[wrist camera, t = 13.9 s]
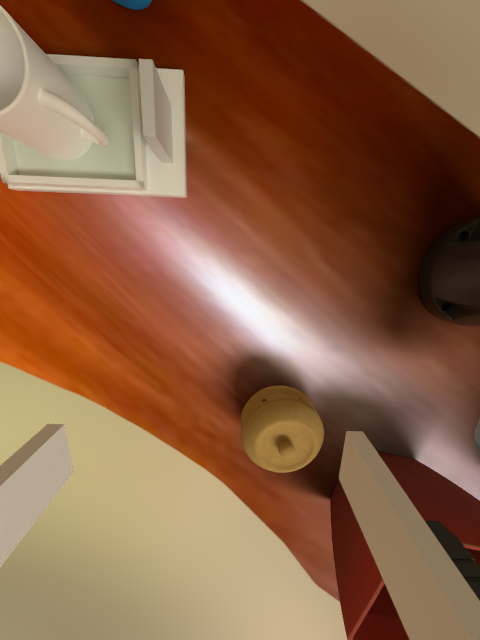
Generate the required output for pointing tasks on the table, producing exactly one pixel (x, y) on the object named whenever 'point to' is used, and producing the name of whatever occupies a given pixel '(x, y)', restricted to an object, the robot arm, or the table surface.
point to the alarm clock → (134, 3)
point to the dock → (113, 134)
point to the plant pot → (357, 560)
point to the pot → (281, 429)
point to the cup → (41, 99)
